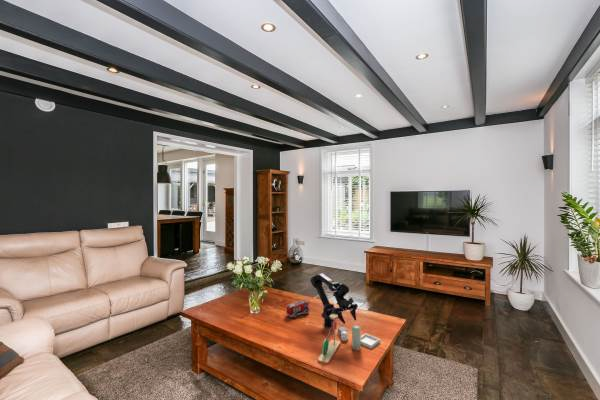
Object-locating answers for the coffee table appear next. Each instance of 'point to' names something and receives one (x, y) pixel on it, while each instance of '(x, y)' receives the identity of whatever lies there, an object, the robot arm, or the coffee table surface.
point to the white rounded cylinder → (344, 336)
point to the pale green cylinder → (356, 337)
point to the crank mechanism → (329, 348)
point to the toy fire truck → (297, 308)
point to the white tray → (369, 340)
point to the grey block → (341, 330)
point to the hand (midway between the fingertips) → (350, 321)
